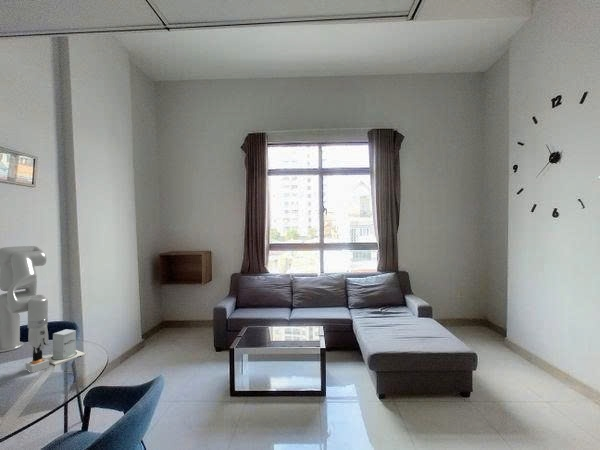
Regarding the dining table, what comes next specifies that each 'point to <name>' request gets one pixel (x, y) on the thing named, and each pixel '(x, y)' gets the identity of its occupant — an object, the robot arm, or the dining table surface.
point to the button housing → (37, 365)
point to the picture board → (61, 360)
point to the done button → (37, 361)
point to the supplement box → (64, 343)
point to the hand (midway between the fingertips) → (37, 359)
